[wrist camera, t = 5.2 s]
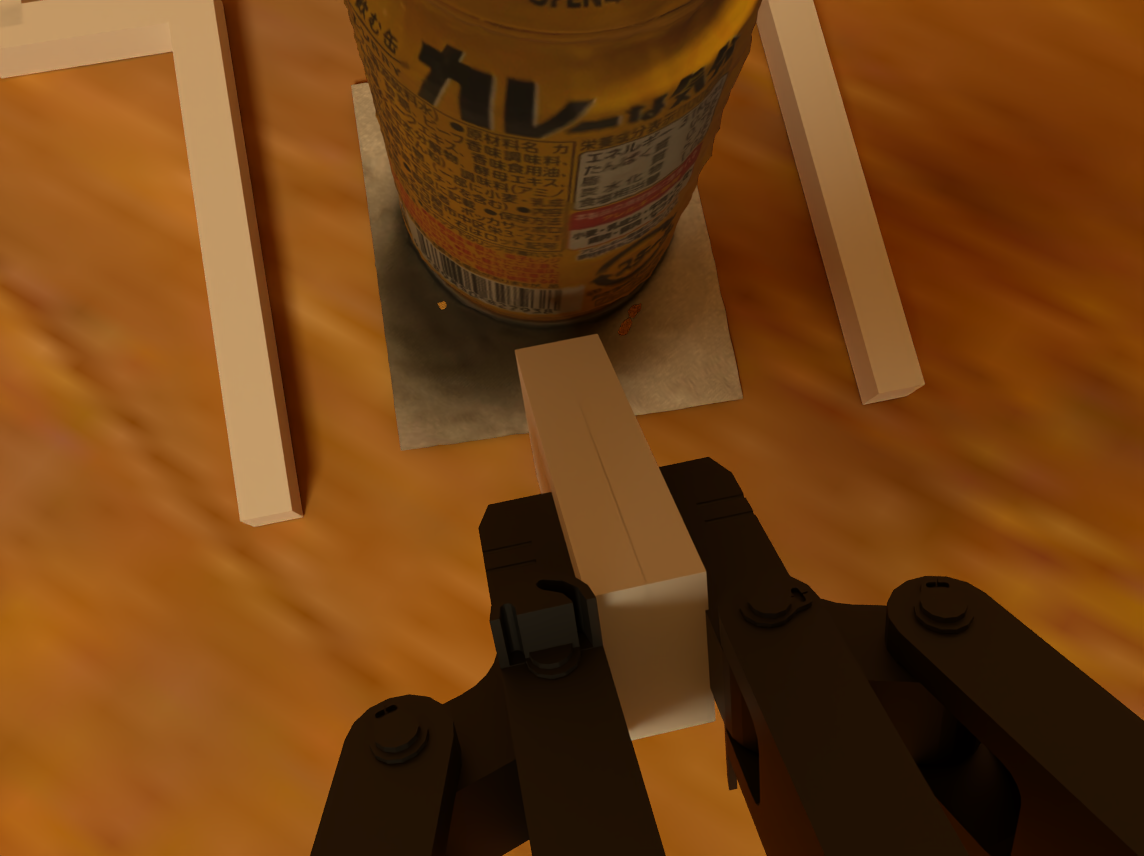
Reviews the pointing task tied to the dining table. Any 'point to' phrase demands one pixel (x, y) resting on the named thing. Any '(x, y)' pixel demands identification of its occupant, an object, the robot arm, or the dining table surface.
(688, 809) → the dining table surface
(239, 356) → the t outline
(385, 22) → the condiment
